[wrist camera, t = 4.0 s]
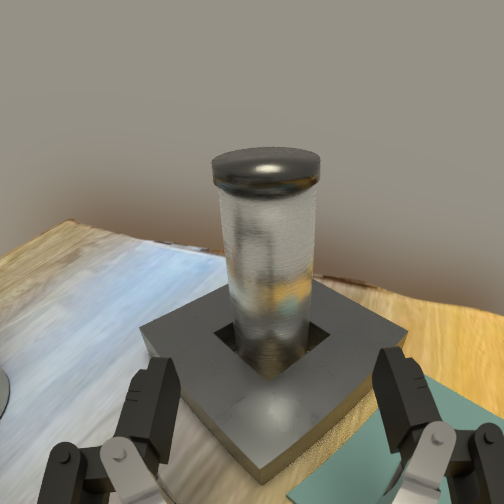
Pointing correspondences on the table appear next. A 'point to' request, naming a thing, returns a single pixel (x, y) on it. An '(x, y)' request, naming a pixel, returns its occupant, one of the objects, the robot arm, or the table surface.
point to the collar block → (280, 387)
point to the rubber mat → (381, 456)
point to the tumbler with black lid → (269, 250)
